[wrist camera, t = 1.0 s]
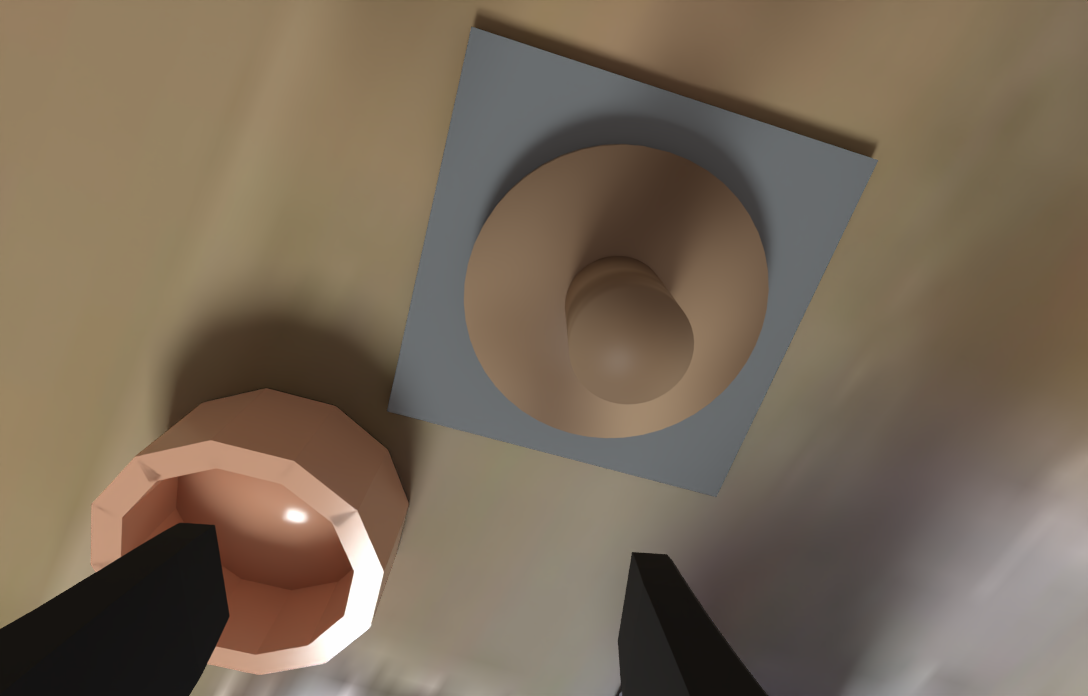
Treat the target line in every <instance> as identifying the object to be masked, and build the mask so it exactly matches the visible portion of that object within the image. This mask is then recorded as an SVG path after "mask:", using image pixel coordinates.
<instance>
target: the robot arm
mask: <svg viewBox="0 0 1088 696" xmlns="http://www.w3.org/2000/svg"><path fill="white" fill-rule="evenodd" d="M229 617H230V614H229V608H228V602H227V596H226V590H225V583H224V577H223V571H222V565H221V559H220V552H219V546H218V540H217V534H216V528H215V525H209V524H194V523H178V524H176V525H174V526H172V527H171V528H169V529H167V530H165V531H163V532H162V533H160V534H158V535H156V536H155V537H153V538H151V539H150V540H148V541H146V542H145V543H143V544H141V545H140V546H138V547H136V548H135V549H133V550H132V551H130V552H128V553H127V554H125V555H123V556H122V557H120V558H118V559H117V560H115V561H114V562H112V563H110V564H109V565H107V566H105V567H104V568H102V569H101V570H99V571H97V572H96V573H94V574H92V575H91V576H89V577H87V578H86V579H84V580H83V581H81V582H79V583H78V584H76V585H74V586H73V587H71V588H69V589H68V590H66V591H64V592H63V593H61V594H59V595H58V596H56V597H55V598H53V599H51V600H50V601H48V602H46V603H45V604H43V605H41V606H40V607H38V608H36V609H35V610H33V611H31V612H29V613H28V614H26V615H24V616H22V617H21V618H19V619H17V620H15V621H14V622H12V623H10V624H8V625H7V626H5V627H3V628H1V629H0V696H189V695H190V693H191V692H192V690H193V688H194V687H195V685H196V684H197V682H198V680H199V679H200V677H201V675H202V673H203V671H204V669H205V667H206V665H207V663H208V661H209V659H210V657H211V655H212V653H213V651H214V649H215V647H216V645H217V643H218V640H219V638H220V636H221V634H222V632H223V630H224V628H225V625H226V623H227V621H228V619H229ZM618 648H619V663H620V676H621V688H622V691H621V693H620V694H619V696H768V695H767V694H766V692H765V691H764V690H763V689H762V687H761V686H760V685H759V684H758V682H757V681H756V680H755V678H754V677H753V676H752V675H751V673H750V672H749V671H748V669H747V668H746V667H745V665H744V664H743V663H742V661H741V660H740V659H739V657H738V656H737V655H736V653H735V652H734V651H733V649H732V648H731V646H730V645H729V644H728V642H727V641H726V640H725V638H724V637H723V636H722V634H721V633H720V631H719V630H718V629H717V627H716V626H715V624H714V623H713V621H712V620H711V619H710V617H709V616H708V614H707V613H706V611H705V610H704V608H703V607H702V605H701V604H700V602H699V601H698V600H697V598H696V597H695V595H694V594H693V592H692V590H691V589H690V587H689V586H688V584H687V583H686V581H685V580H684V578H683V577H682V575H681V574H680V572H679V570H678V569H677V567H676V566H675V564H674V563H673V561H672V560H671V559H670V557H669V556H668V555H667V554H652V553H636V552H632V556H631V563H630V569H629V575H628V581H627V587H626V594H625V600H624V606H623V612H622V618H621V625H620V631H619V637H618Z"/></svg>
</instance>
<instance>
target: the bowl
mask: <svg viewBox="0 0 1088 696" xmlns="http://www.w3.org/2000/svg"><path fill="white" fill-rule="evenodd" d="M408 506H409V503H408V500H407V497H406V495H405V492H404V490H403V487H402V485H401V482H400V479H399V477H398V474H397V472H396V469H395V467H394V464H393V461H392V459H391V456H390V454H389V451H388V449H387V448H385V447H384V446H383V445H382V444H381V443H379V442H378V441H377V440H376V439H375V438H373V437H372V436H371V435H370V434H369V433H367V432H366V431H365V430H364V429H363V428H361V427H360V426H359V425H358V424H357V423H355V422H354V421H353V420H352V419H351V418H349V417H348V416H347V415H346V414H345V413H343V412H342V411H341V410H340V409H339V408H337V407H336V406H334V405H330V404H326V403H322V402H318V401H314V400H310V399H307V398H303V397H299V396H295V395H291V394H287V393H283V392H279V391H276V390H272V389H268V388H265V389H260V390H256V391H252V392H247V393H243V394H238V395H234V396H229V397H225V398H221V399H216V400H212V401H207V402H203V403H201V404H200V405H199V406H197V407H196V408H195V409H194V410H192V411H191V412H190V413H189V414H187V415H186V416H185V417H184V418H182V419H181V420H180V421H179V422H177V423H176V424H175V425H174V426H172V427H171V428H170V429H169V430H167V431H166V432H165V433H164V434H162V435H161V436H160V437H159V438H158V439H156V440H155V441H154V442H153V443H151V444H150V445H149V446H148V447H146V448H145V449H144V450H143V451H141V452H140V453H139V454H138V455H136V456H135V457H134V458H133V459H132V460H131V462H130V463H129V464H128V465H127V466H126V467H125V468H124V469H123V470H122V471H121V472H120V473H119V475H118V476H117V477H116V478H115V479H114V480H113V481H112V482H111V483H110V484H109V485H108V487H107V488H106V489H105V490H104V491H103V492H102V493H101V494H100V495H99V496H98V497H97V499H96V500H95V501H94V502H93V503H92V511H91V566H92V567H93V569H94V570H95V572H97V571H99V570H101V569H102V568H104V567H105V566H107V565H109V564H110V563H112V562H114V561H115V560H117V559H118V558H120V557H122V556H123V555H125V554H127V553H128V552H130V551H132V550H133V549H135V548H136V547H138V546H140V545H141V544H143V543H145V542H146V541H148V540H150V539H151V538H153V537H155V536H156V535H158V534H160V533H162V532H163V531H165V530H167V529H169V528H171V527H172V526H174V525H176V524H178V523H194V524H209V525H215V528H216V534H217V540H218V546H219V552H220V559H221V565H222V571H223V577H224V583H225V590H226V596H227V602H228V608H229V614H230V617H229V619H228V621H227V623H226V625H225V628H224V630H223V632H222V634H221V636H220V638H219V640H218V643H217V645H216V647H215V649H214V651H213V653H212V655H211V657H210V659H209V661H208V663H207V664H210V665H215V666H220V667H224V668H229V669H234V670H238V671H243V672H248V673H253V674H257V675H263V674H268V673H274V672H280V671H285V670H291V669H297V668H302V667H308V666H314V665H319V664H325V663H326V662H327V661H329V660H330V659H331V658H332V657H334V656H335V655H336V654H337V653H339V652H340V651H341V650H342V649H344V648H345V647H346V646H347V645H349V644H350V643H351V642H352V641H354V640H355V639H356V638H357V637H359V636H360V635H361V634H362V633H364V632H365V631H366V630H367V629H369V628H370V627H371V624H372V621H373V619H374V616H375V613H376V610H377V607H378V604H379V602H380V599H381V596H382V593H383V590H384V588H385V585H386V582H387V579H388V576H389V574H390V571H391V568H392V565H393V562H394V560H395V557H396V554H397V550H398V546H399V542H400V538H401V534H402V530H403V526H404V522H405V518H406V514H407V510H408Z"/></svg>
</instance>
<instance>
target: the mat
mask: <svg viewBox="0 0 1088 696" xmlns="http://www.w3.org/2000/svg"><path fill="white" fill-rule="evenodd" d="M608 144H629V145H639V146H646V147H650V148H654V149H658V150H662V151H667V152H670V153H673V154H675V155H678V156H680V157H683V158H685V159H688V160H690V161H692V162H694V163H695V164H697V165H699V166H700V167H702V168H704V169H706V170H707V171H709V172H710V173H711V174H713V175H714V176H715V177H716V178H718V179H719V180H720V181H721V182H723V183H724V184H725V185H726V186H727V187H728V188H729V189H730V190H731V191H732V193H733V194H734V195H735V196H736V197H737V198H738V199H739V201H740V202H741V203H742V205H743V206H744V208H745V209H746V211H747V212H748V213H749V215H750V217H751V219H752V221H753V223H754V225H755V227H756V229H757V231H758V233H759V236H760V239H761V242H762V245H763V248H764V251H765V257H766V262H767V268H768V285H769V292H768V302H767V310H766V314H765V319H764V323H763V327H762V330H761V332H760V335H759V338H758V340H757V343H756V346H755V347H754V349H753V351H752V353H751V355H750V357H749V359H748V361H747V362H746V364H745V365H744V367H743V368H742V369H741V371H740V372H739V374H738V375H737V377H736V378H735V379H734V380H733V381H732V382H731V384H730V385H729V386H728V387H727V388H726V389H725V390H724V391H723V392H722V393H721V394H720V395H719V396H718V397H716V398H715V399H714V400H713V401H712V402H711V403H710V404H708V405H707V406H705V407H704V408H703V409H701V410H700V411H698V412H697V413H695V414H694V415H692V416H690V417H688V418H686V419H684V420H683V421H681V422H679V423H677V424H674V425H672V426H669V427H667V428H664V429H662V430H659V431H655V432H651V433H647V434H644V435H638V436H632V437H625V438H597V437H587V436H582V435H577V434H572V433H568V432H565V431H562V430H559V429H556V428H553V427H551V426H549V425H546V424H544V423H542V422H540V421H538V420H536V419H534V418H533V417H531V416H530V415H528V414H526V413H525V412H523V411H522V410H520V409H519V408H518V407H517V406H516V405H514V404H513V403H512V402H511V401H509V400H508V399H507V398H506V397H505V396H504V395H503V394H502V393H501V391H500V390H499V389H498V388H497V387H496V386H495V385H494V383H493V382H492V381H491V379H490V378H489V377H488V375H487V374H486V372H485V371H484V369H483V367H482V365H481V363H480V362H479V360H478V358H477V356H476V354H475V351H474V348H473V346H472V343H471V341H470V337H469V333H468V329H467V325H466V320H465V309H464V284H465V278H466V272H467V266H468V262H469V259H470V256H471V253H472V250H473V246H474V244H475V242H476V240H477V237H478V235H479V233H480V231H481V229H482V227H483V225H484V224H485V222H486V220H487V219H488V217H489V216H490V214H491V213H492V211H493V210H494V208H495V207H496V205H497V204H498V203H499V201H500V200H501V199H502V198H503V197H504V196H505V195H506V193H507V192H508V191H509V190H510V189H511V188H512V187H513V186H514V185H515V184H517V183H518V182H519V181H520V180H521V179H522V178H523V177H525V176H526V175H527V174H529V173H530V172H532V171H533V170H535V169H536V168H538V167H539V166H541V165H542V164H544V163H546V162H548V161H550V160H552V159H554V158H556V157H558V156H560V155H563V154H566V153H569V152H572V151H575V150H578V149H582V148H587V147H592V146H598V145H608ZM877 162H878V160H876V159H873V158H870V157H867V156H864V155H861V154H858V153H855V152H852V151H849V150H846V149H843V148H840V147H836V146H833V145H830V144H827V143H824V142H821V141H818V140H815V139H812V138H809V137H806V136H803V135H800V134H797V133H794V132H791V131H788V130H785V129H782V128H779V127H776V126H773V125H770V124H766V123H763V122H760V121H757V120H754V119H751V118H748V117H745V116H742V115H739V114H736V113H733V112H730V111H727V110H724V109H721V108H718V107H715V106H712V105H709V104H706V103H703V102H700V101H696V100H693V99H690V98H687V97H684V96H681V95H678V94H675V93H672V92H669V91H666V90H663V89H660V88H657V87H654V86H651V85H648V84H645V83H642V82H639V81H636V80H633V79H630V78H627V77H623V76H620V75H617V74H614V73H611V72H608V71H605V70H602V69H599V68H596V67H593V66H590V65H587V64H584V63H581V62H578V61H575V60H572V59H569V58H566V57H563V56H560V55H557V54H553V53H550V52H547V51H544V50H541V49H538V48H535V47H532V46H529V45H526V44H523V43H520V42H517V41H514V40H511V39H508V38H505V37H502V36H499V35H496V34H493V33H490V32H487V31H484V30H480V29H477V28H474V27H471V31H470V36H469V41H468V45H467V50H466V54H465V59H464V63H463V68H462V72H461V77H460V81H459V86H458V91H457V95H456V100H455V104H454V109H453V113H452V118H451V122H450V127H449V132H448V136H447V141H446V145H445V150H444V154H443V159H442V163H441V168H440V172H439V177H438V182H437V186H436V191H435V195H434V200H433V204H432V209H431V213H430V218H429V223H428V227H427V232H426V236H425V241H424V245H423V250H422V254H421V259H420V263H419V268H418V273H417V277H416V282H415V286H414V291H413V295H412V300H411V304H410V309H409V314H408V318H407V323H406V327H405V332H404V336H403V341H402V345H401V350H400V354H399V359H398V364H397V368H396V373H395V377H394V382H393V386H392V391H391V395H390V400H389V405H388V409H387V411H388V412H392V413H396V414H400V415H404V416H407V417H411V418H415V419H419V420H423V421H427V422H430V423H434V424H438V425H442V426H446V427H450V428H454V429H457V430H461V431H465V432H469V433H473V434H477V435H480V436H484V437H488V438H492V439H496V440H500V441H503V442H507V443H511V444H515V445H519V446H523V447H526V448H530V449H534V450H538V451H542V452H546V453H550V454H553V455H557V456H561V457H565V458H569V459H573V460H576V461H580V462H584V463H588V464H592V465H596V466H599V467H603V468H607V469H611V470H615V471H619V472H622V473H626V474H630V475H634V476H638V477H642V478H646V479H649V480H653V481H657V482H661V483H665V484H669V485H672V486H676V487H680V488H684V489H688V490H692V491H695V492H699V493H703V494H707V495H711V496H715V497H717V494H718V492H719V490H720V488H721V486H722V484H723V482H724V480H725V478H726V476H727V474H728V472H729V469H730V467H731V465H732V463H733V461H734V459H735V457H736V455H737V453H738V451H739V449H740V447H741V445H742V442H743V440H744V438H745V436H746V434H747V432H748V430H749V428H750V426H751V424H752V422H753V420H754V417H755V415H756V413H757V411H758V409H759V407H760V405H761V403H762V401H763V399H764V397H765V395H766V393H767V390H768V388H769V386H770V384H771V382H772V380H773V378H774V376H775V374H776V372H777V370H778V368H779V365H780V363H781V361H782V359H783V357H784V355H785V353H786V351H787V349H788V347H789V345H790V343H791V341H792V338H793V336H794V334H795V332H796V330H797V328H798V326H799V324H800V322H801V320H802V318H803V316H804V313H805V311H806V309H807V307H808V305H809V303H810V301H811V299H812V297H813V295H814V293H815V291H816V289H817V286H818V284H819V282H820V280H821V278H822V276H823V274H824V272H825V270H826V268H827V266H828V264H829V262H830V259H831V257H832V255H833V253H834V251H835V249H836V247H837V245H838V243H839V241H840V239H841V237H842V234H843V232H844V230H845V228H846V226H847V224H848V222H849V220H850V218H851V216H852V214H853V212H854V210H855V207H856V205H857V203H858V201H859V199H860V197H861V195H862V193H863V191H864V189H865V187H866V185H867V182H868V180H869V178H870V176H871V174H872V172H873V170H874V168H875V166H876V164H877Z"/></svg>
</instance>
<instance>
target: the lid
mask: <svg viewBox="0 0 1088 696" xmlns="http://www.w3.org/2000/svg"><path fill="white" fill-rule="evenodd" d="M768 292H769V285H768V268H767V262H766V257H765V251H764V248H763V245H762V242H761V239H760V236H759V233H758V231H757V229H756V227H755V225H754V223H753V221H752V219H751V217H750V215H749V213H748V212H747V211H746V209H745V208H744V206H743V205H742V203H741V202H740V201H739V199H738V198H737V197H736V196H735V195H734V194H733V193H732V191H731V190H730V189H729V188H728V187H727V186H726V185H725V184H724V183H723V182H721V181H720V180H719V179H718V178H716V177H715V176H714V175H713V174H711V173H710V172H709V171H707V170H706V169H704V168H702V167H700V166H699V165H697V164H695V163H694V162H692V161H690V160H688V159H685V158H683V157H680V156H678V155H675V154H673V153H670V152H667V151H662V150H658V149H654V148H650V147H646V146H639V145H629V144H608V145H598V146H592V147H587V148H582V149H578V150H575V151H572V152H569V153H566V154H563V155H560V156H558V157H556V158H554V159H552V160H550V161H548V162H546V163H544V164H542V165H541V166H539V167H538V168H536V169H535V170H533V171H532V172H530V173H529V174H527V175H526V176H525V177H523V178H522V179H521V180H520V181H519V182H518V183H517V184H515V185H514V186H513V187H512V188H511V189H510V190H509V191H508V192H507V193H506V195H505V196H504V197H503V198H502V199H501V200H500V201H499V203H498V204H497V205H496V207H495V208H494V210H493V211H492V213H491V214H490V216H489V217H488V219H487V220H486V222H485V224H484V225H483V227H482V229H481V231H480V233H479V235H478V237H477V240H476V242H475V244H474V246H473V250H472V253H471V256H470V259H469V262H468V266H467V272H466V278H465V284H464V309H465V320H466V325H467V329H468V333H469V337H470V341H471V343H472V346H473V348H474V351H475V354H476V356H477V358H478V360H479V362H480V363H481V365H482V367H483V369H484V371H485V372H486V374H487V375H488V377H489V378H490V379H491V381H492V382H493V383H494V385H495V386H496V387H497V388H498V389H499V390H500V391H501V393H502V394H503V395H504V396H505V397H506V398H507V399H508V400H509V401H511V402H512V403H513V404H514V405H516V406H517V407H518V408H519V409H520V410H522V411H523V412H525V413H526V414H528V415H530V416H531V417H533V418H534V419H536V420H538V421H540V422H542V423H544V424H546V425H549V426H551V427H553V428H556V429H559V430H562V431H565V432H568V433H572V434H577V435H582V436H587V437H597V438H625V437H632V436H638V435H644V434H647V433H651V432H655V431H659V430H662V429H664V428H667V427H669V426H672V425H674V424H677V423H679V422H681V421H683V420H684V419H686V418H688V417H690V416H692V415H694V414H695V413H697V412H698V411H700V410H701V409H703V408H704V407H705V406H707V405H708V404H710V403H711V402H712V401H713V400H714V399H715V398H716V397H718V396H719V395H720V394H721V393H722V392H723V391H724V390H725V389H726V388H727V387H728V386H729V385H730V384H731V382H732V381H733V380H734V379H735V378H736V377H737V375H738V374H739V372H740V371H741V369H742V368H743V367H744V365H745V364H746V362H747V361H748V359H749V357H750V355H751V353H752V351H753V349H754V347H755V346H756V343H757V340H758V338H759V335H760V332H761V330H762V327H763V323H764V319H765V314H766V310H767V302H768Z"/></svg>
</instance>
